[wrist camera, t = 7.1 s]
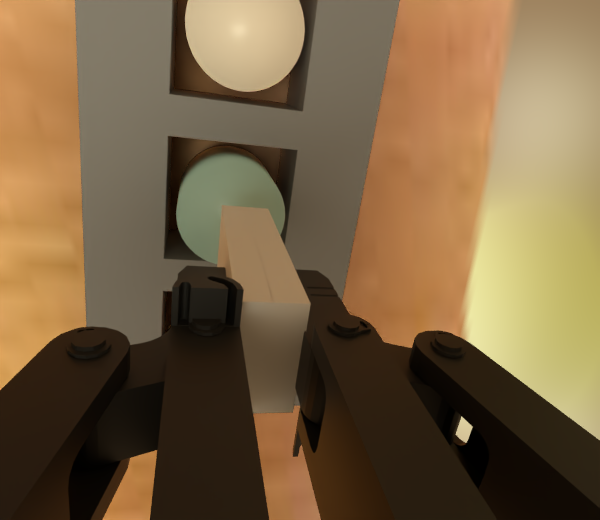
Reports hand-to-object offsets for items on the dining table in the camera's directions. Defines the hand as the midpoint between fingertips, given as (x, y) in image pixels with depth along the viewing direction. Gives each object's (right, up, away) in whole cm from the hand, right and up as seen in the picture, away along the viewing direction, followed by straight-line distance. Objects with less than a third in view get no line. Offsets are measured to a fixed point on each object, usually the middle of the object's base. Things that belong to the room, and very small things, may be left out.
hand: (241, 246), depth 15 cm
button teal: (-2, +3, +7) cm, 8 cm away
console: (-2, +4, +9) cm, 10 cm away
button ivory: (-1, +10, +5) cm, 11 cm away
